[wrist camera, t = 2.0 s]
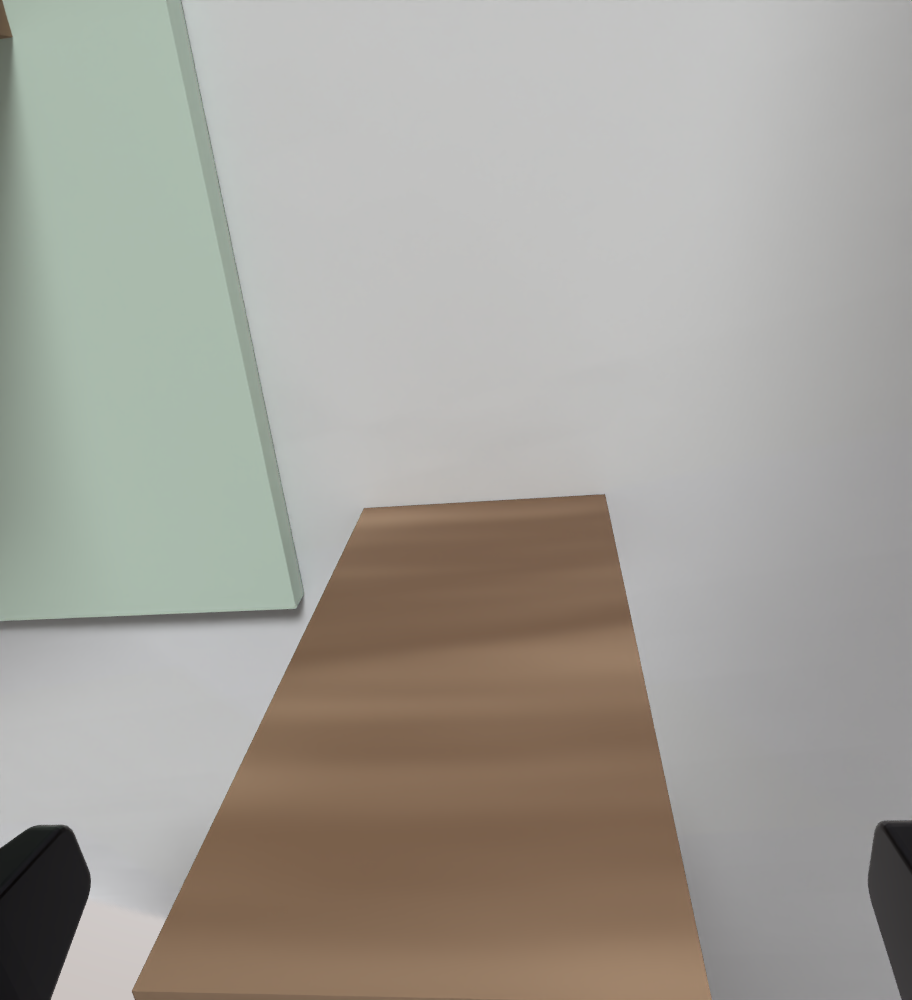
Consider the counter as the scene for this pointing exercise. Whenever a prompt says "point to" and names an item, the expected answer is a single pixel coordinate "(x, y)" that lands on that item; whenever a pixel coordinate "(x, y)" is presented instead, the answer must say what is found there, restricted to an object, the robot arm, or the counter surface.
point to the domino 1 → (4, 23)
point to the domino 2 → (448, 785)
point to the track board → (124, 334)
